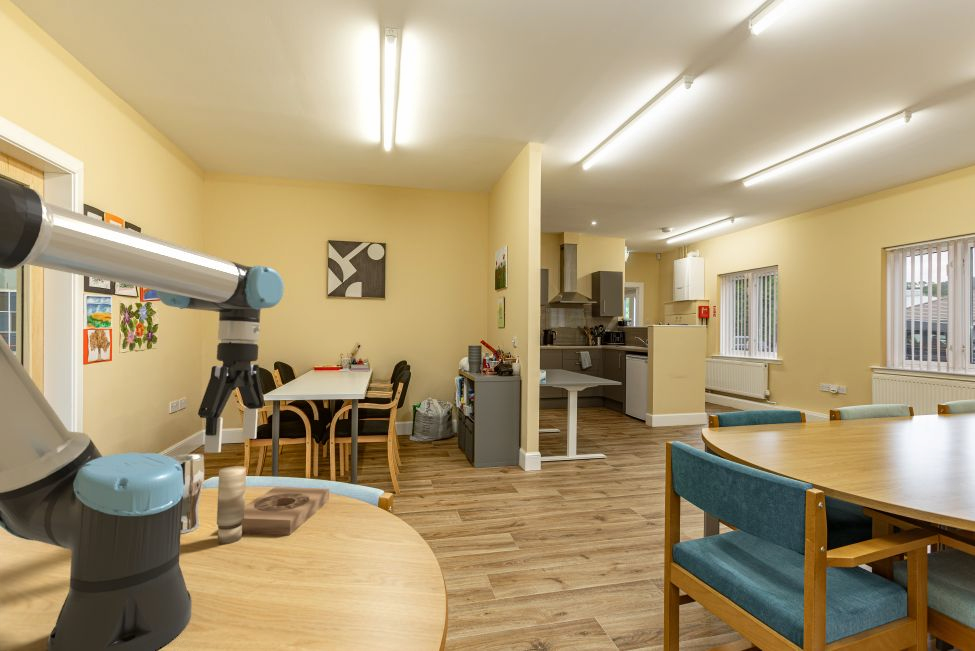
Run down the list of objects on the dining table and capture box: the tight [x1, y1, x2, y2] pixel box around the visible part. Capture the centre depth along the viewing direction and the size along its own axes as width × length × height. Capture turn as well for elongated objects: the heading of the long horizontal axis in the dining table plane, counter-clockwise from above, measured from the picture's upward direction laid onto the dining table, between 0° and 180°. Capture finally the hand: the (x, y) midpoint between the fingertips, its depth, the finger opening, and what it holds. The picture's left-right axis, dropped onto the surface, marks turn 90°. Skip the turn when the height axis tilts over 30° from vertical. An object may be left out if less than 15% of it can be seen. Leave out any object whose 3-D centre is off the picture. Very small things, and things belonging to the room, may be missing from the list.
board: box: [242, 486, 330, 536], centre depth 102 cm, size 20×14×3 cm
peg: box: [216, 465, 247, 545], centre depth 89 cm, size 5×5×14 cm
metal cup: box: [170, 453, 205, 535], centre depth 94 cm, size 7×7×15 cm
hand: (232, 444), depth 91 cm, fingers open, 13 cm apart
